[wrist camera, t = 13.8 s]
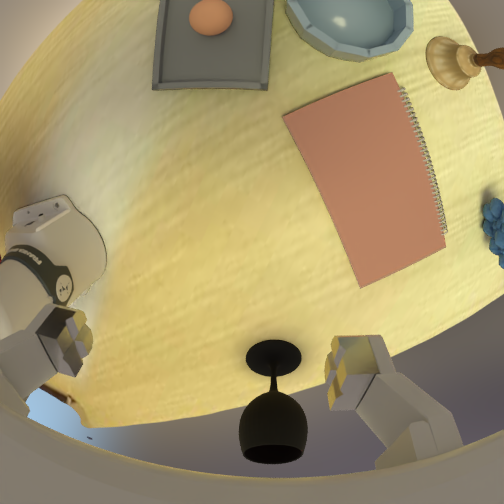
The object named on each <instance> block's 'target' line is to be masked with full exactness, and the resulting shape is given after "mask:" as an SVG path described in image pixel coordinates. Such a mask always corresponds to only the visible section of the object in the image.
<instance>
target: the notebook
mask: <svg viewBox="0 0 504 504" xmlns="http://www.w3.org/2000/svg"><path fill="white" fill-rule="evenodd" d="M404 90H405V88H401V90H400V88H399V86H398V84H397V82H396V79H395V77H394V75H393V73H392V72H391V73H388V74H385V75H382V76H380V77H377V78H374V79H371V80H368V81H366V82H363V83H360V84H358V85H355V86H353V87H350V88H347V89H345V90H342V91H340V92H337V93H335V94H333V95H330V96H328V97H325V98H323V99H321V100H318V101H316V102H314V103H311V104H309V105H307V106H305V107H303V108H300V109H298V110H296V111H294V112H292V113H290V114H287V115H285V116H283V117H282V118H283V120H284V122H285V124H286V126H287V128H288V130H289V131H290V133H291V135H292V137H293V139H294V141H295V143H296V145H297V147H298V149H299V151H300V153H301V155H302V157H303V159H304V161H305V163H306V165H307V167H308V169H309V171H310V173H311V175H312V177H313V179H314V181H315V183H316V185H317V187H318V189H319V192H320V194H321V196H322V198H323V200H324V202H325V205H326V207H327V209H328V211H329V214H330V216H331V218H332V220H333V223H334V225H335V227H336V230H337V232H338V234H339V237H340V239H341V241H342V244H343V246H344V248H345V251H346V253H347V256H348V258H349V261H350V263H351V266H352V268H353V271H354V273H355V276H356V279H357V281H358V284H359V286H360V289H361V288H363V287H365V286H367V285H369V284H372V283H374V282H376V281H378V280H380V279H383V278H385V277H387V276H389V275H391V274H393V273H395V272H397V271H400V270H402V269H404V268H406V267H408V266H410V265H412V264H414V263H416V262H418V261H420V260H422V259H424V258H426V257H428V256H430V255H432V254H434V253H436V252H438V251H440V250H441V249H443V248H445V247H446V244H445V238H444V235H445V234H446V233H447V232H448V230H447V225H446V221H445V220H446V219H444V220H443V221H441V218H443V217H444V218H445V214H444V209H443V205H442V201H441V196H440V192H439V188H438V184H437V183H436V182H437V179H436V178H435V177H436V175H435V174H434V172H435V171H434V169H433V165H431V163H432V161H431V160H429V159H430V158H431V157H430V156H429V155H428V154H429V152H428V151H427V149H428V148H427V146H424V145H426V142H425V141H423V140H424V139H425V138H424V137H423V136H421V135H423V133H422V132H418V133H421V134H419V135H418V134H417V131H420V130H421V127H417V128H418V129H417V130H416V128H415V127H416V126H418V125H419V122H415V124H416V125H414V123H413V122H414V121H416V120H417V117H413V119H414V120H412V116H414V115H415V114H416V113H415V112H411V113H412V115H410V111H412V110H414V108H413V107H410V110H408V106H410V105H412V103H411V102H408V105H406V101H408V100H410V99H409V97H408V98H405V100H404V97H403V96H406V95H408V93H403V95H402V93H401V91H404ZM419 136H420V138H423V139H419ZM421 141H422V143H424V144H422V145H421ZM422 146H423V147H425V149H423V148H422ZM423 151H425V152H428V153H426V154H424V152H423ZM425 156H427V157H429V158H427V159H426V158H425ZM427 161H429V162H430V163H428V164H427ZM428 165H429V166H432V167H431V168H428ZM429 170H432V171H433V172H432V173H430V172H429ZM431 175H434V177H432V178H431ZM432 179H434V180H436V181H435V182H433V183H432ZM433 184H437V185H436V186H435V187H434V186H433ZM435 188H437V189H438V190H437V191H435V190H434V189H435ZM437 192H438V193H439V195H437V196H436V194H435V193H437ZM437 197H440V199H438V200H437V199H436V198H437ZM438 201H441V203H439V204H438V203H437V202H438ZM440 205H441V206H442V207H440V209H439V207H438V206H440ZM441 209H442V210H443V211H442V212H441V213H440V212H439V210H441ZM442 213H443V214H444V215H443V216H442V217H440V214H442ZM444 221H445V224H444V223H443V225H442V222H444ZM443 226H446V228H445V227H444V229H443ZM444 230H447V231H446V232H445V233H444V232H443V231H444Z"/></svg>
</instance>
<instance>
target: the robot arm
mask: <svg viewBox="0 0 504 504" xmlns="http://www.w3.org/2000/svg"><path fill="white" fill-rule="evenodd" d="M58 204H59V205H58ZM5 249H6V255H5V256H4V258H3V259H2V261H1V256H0V504H504V430H502V431H499V432H497V433H495V434H493V435H491V436H488V437H486V438H484V439H481V440H479V441H476V442H474V443H471V444H469V445H466V446H464V445H463V443H462V440H461V437H460V434H459V432H458V429H457V426H456V424H455V421H454V418H453V416H452V413H451V412H449V411H448V410H447V409H446V408H445V407H443V406H442V405H441V404H439V403H438V402H437V401H436V400H434V399H433V398H432V397H431V396H429V395H428V394H427V393H426V392H424V391H423V390H422V389H421V388H419V387H418V386H417V385H416V384H414V383H413V382H412V381H411V380H409V379H408V378H407V377H406V376H404V375H403V374H402V373H396V370H395V368H394V365H393V362H392V360H391V357H390V355H389V352H388V350H387V347H386V345H385V342H384V340H383V338H382V336H381V335H365V336H364V335H358V336H334V338H333V340H332V342H331V348H332V351H331V352H330V353H329V354H328V355H327V358H326V361H325V370H324V371H325V382H326V383H327V384H328V385H329V386H330V389H329V391H328V393H327V394H328V400H329V407H330V411H332V410H333V411H334V410H356V412H357V413H358V414H359V416H360V417H361V418H362V419H363V420H364V421H365V423H366V424H367V425H368V426H369V427H370V429H371V430H372V431H373V432H374V433H375V434H376V436H377V437H378V438H379V439H380V440H381V441H382V443H383V444H384V445H385V446H386V447H387V448H388V449H387V450H386V451H385V452H384V453H383V454H382V455H381V456H380V457H379V458H378V459H377V460H376V461H375V465H376V470H372V471H366V472H359V473H351V474H343V475H334V476H322V477H305V478H258V477H239V476H228V475H218V474H209V473H202V472H195V471H189V470H183V469H177V468H172V467H167V466H162V465H158V464H153V463H149V462H145V461H141V460H137V459H133V458H129V457H126V456H122V455H119V454H116V453H113V452H110V451H107V450H103V449H100V448H98V447H94V446H92V445H89V444H86V443H84V442H81V441H79V440H76V439H74V438H71V437H69V436H66V435H64V434H61V433H59V432H57V431H55V430H52V429H50V428H48V427H46V426H44V425H41V424H39V423H38V422H36V421H34V420H32V419H30V418H28V417H27V416H28V413H29V412H30V410H29V407H28V406H27V404H26V403H25V402H24V401H23V399H24V398H25V397H27V396H28V395H29V394H31V393H32V392H33V391H34V390H36V389H37V388H38V387H40V386H41V385H42V384H44V383H45V382H46V381H48V380H49V379H50V378H52V377H53V376H54V375H56V374H57V372H59V373H62V374H65V375H69V376H72V377H76V376H77V374H78V372H79V370H80V369H81V367H82V365H83V360H82V358H84V357H85V356H87V355H88V354H89V353H90V351H91V349H92V344H93V336H92V332H91V329H90V328H89V327H88V326H87V325H86V324H85V323H86V321H87V318H86V316H85V313H84V312H83V311H81V310H78V309H74V308H69V306H70V305H71V304H72V303H73V302H74V301H75V300H76V299H77V298H78V297H79V296H80V295H81V296H84V295H85V294H86V293H87V292H88V291H89V289H90V286H91V284H93V283H94V282H95V281H97V280H98V279H99V278H100V277H101V276H102V274H103V273H104V270H105V266H106V252H105V248H104V244H103V241H102V239H101V237H100V235H99V233H98V231H97V230H96V228H95V227H94V226H93V224H92V223H91V222H90V221H89V220H88V219H87V218H86V217H85V216H83V215H82V214H81V213H79V212H78V211H77V210H76V209H75V207H74V206H73V204H72V203H71V201H70V200H69V198H68V197H67V196H65V195H61V196H58V197H54V198H51V199H48V200H45V201H41V202H38V203H35V204H32V205H29V206H26V207H23V208H20V209H18V210H16V211H15V212H14V215H13V227H12V228H11V229H9V230H8V231H7V233H6V236H5Z"/></svg>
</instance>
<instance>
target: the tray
mask: <svg viewBox="0 0 504 504" xmlns="http://www.w3.org/2000/svg"><path fill="white" fill-rule="evenodd" d="M200 1H202V0H160V5H159V13H158V21H157V30H156V39H155V50H154V63H153V79H152V90H156V91H159V90H175V89H246V90H263V91H267V89H268V75H269V61H270V47H271V33H272V19H273V5H274V0H222V1H224V2H226V3H227V4H228V5H229V6H230V8H231V10H232V12H233V20H232V23H231V25H230V26H229V27H228V28H227V29H226V30H225V31H224V32H222V33H220V34H217V35H212V36H207V35H202V34H200V33H198V32H196V31H195V30H194V29H193V28H192V27H191V25H190V22H189V14H190V11H191V10H192V8H193V7H194V6H195V5H196V4H197V3H199V2H200Z"/></svg>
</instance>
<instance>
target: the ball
mask: <svg viewBox="0 0 504 504" xmlns="http://www.w3.org/2000/svg"><path fill="white" fill-rule="evenodd" d="M232 20H233V12H232V10H231V8H230V6H229V5H228V4H227V3H226V2H224V1H222V0H202V1H200V2H199V3H197V4H196V5H195V6H194V7H193V8H192V10H191V11H190V14H189V22H190V25H191V27H192V28H193V29H194V30H195V31H196V32H198V33H200V34H202V35H207V36H212V35H217V34H220V33H222V32H224V31H225V30H226V29H227V28H228V27H229V26H230V25H231V23H232Z"/></svg>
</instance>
